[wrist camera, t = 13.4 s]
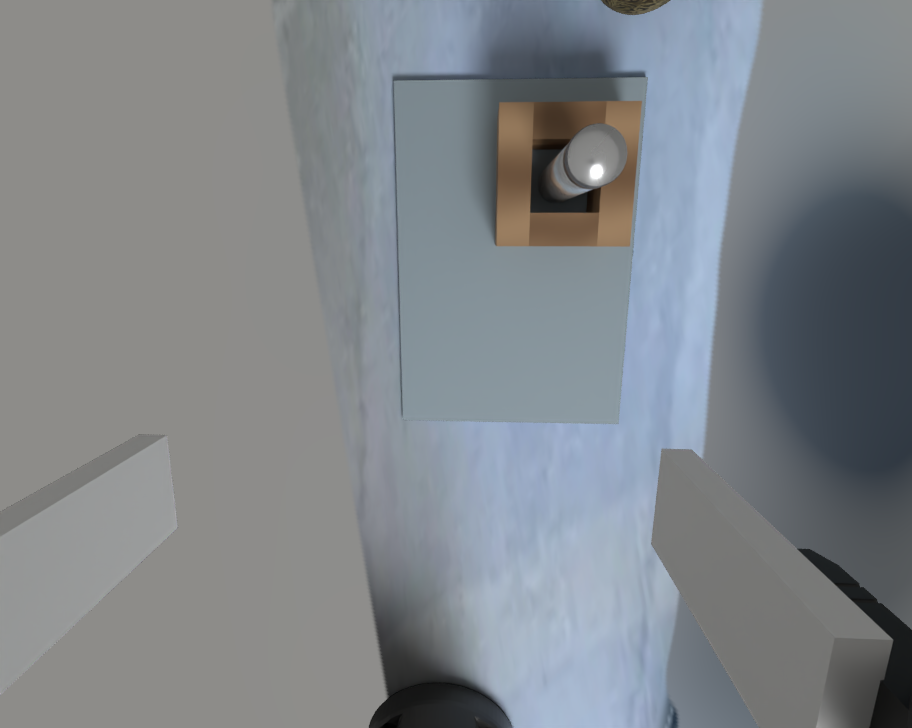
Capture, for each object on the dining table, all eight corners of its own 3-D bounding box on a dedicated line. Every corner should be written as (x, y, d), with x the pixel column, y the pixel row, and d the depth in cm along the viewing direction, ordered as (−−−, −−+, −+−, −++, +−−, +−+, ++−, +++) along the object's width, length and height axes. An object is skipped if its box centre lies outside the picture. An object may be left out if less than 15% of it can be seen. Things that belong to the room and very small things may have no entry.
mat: (617, 422, 43) (618, 424, 43) (403, 418, 44) (402, 420, 44) (645, 78, 37) (647, 77, 36) (394, 82, 37) (393, 80, 37)
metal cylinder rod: (575, 203, 39) (626, 186, 25) (536, 203, 39) (566, 187, 25) (577, 162, 38) (630, 121, 24) (537, 162, 38) (568, 123, 24)
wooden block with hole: (613, 244, 39) (629, 246, 35) (494, 244, 40) (496, 246, 35) (623, 116, 37) (641, 100, 33) (497, 117, 37) (499, 102, 33)
